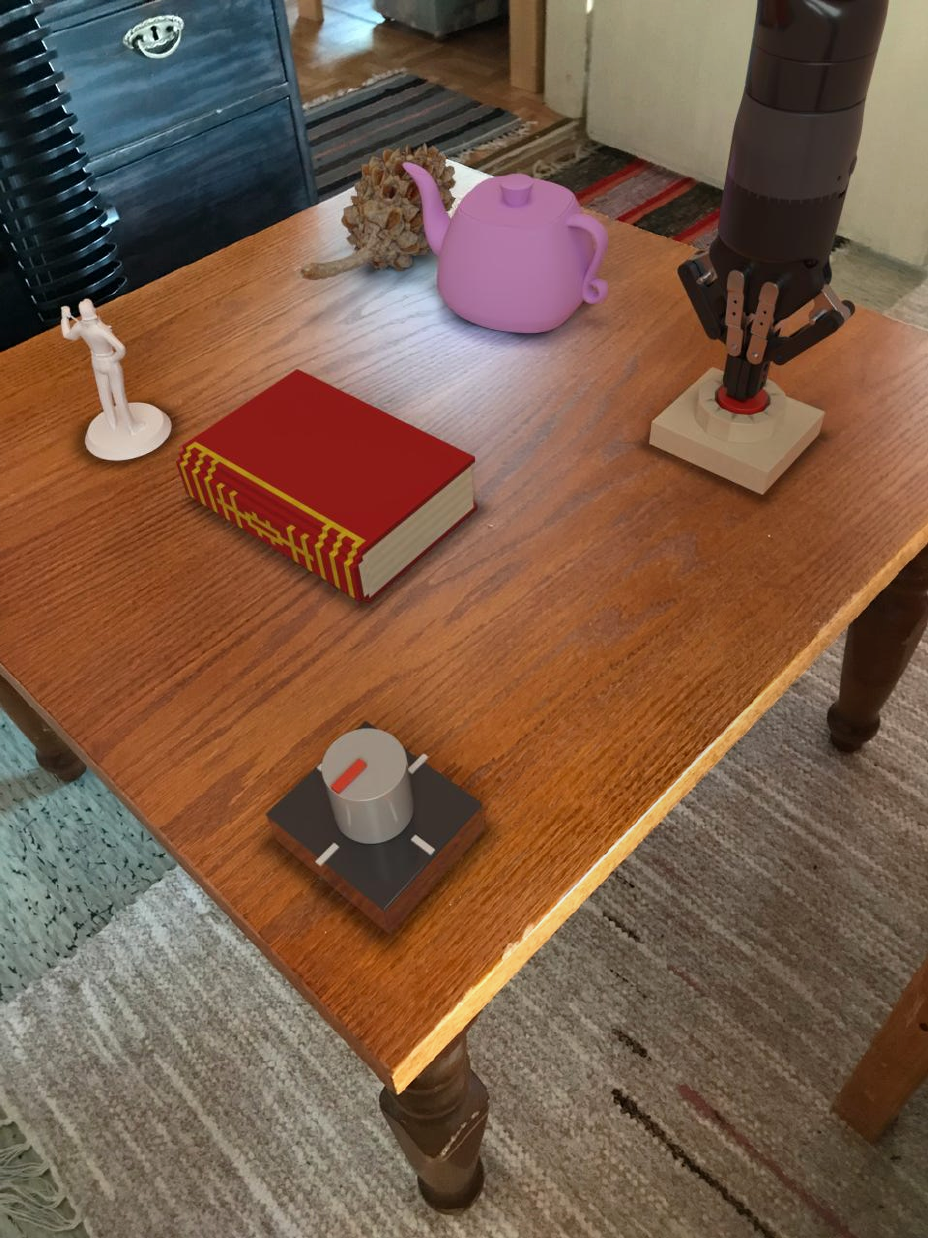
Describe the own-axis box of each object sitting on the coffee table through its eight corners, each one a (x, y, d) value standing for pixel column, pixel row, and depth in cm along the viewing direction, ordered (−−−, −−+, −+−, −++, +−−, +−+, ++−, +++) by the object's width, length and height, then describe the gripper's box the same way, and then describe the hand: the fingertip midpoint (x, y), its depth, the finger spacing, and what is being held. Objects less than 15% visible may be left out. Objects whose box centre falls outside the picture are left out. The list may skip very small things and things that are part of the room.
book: (189, 502, 76) (172, 451, 72) (307, 419, 82) (297, 368, 78) (361, 610, 67) (351, 559, 64) (477, 508, 74) (475, 456, 70)
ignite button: (771, 410, 76) (776, 391, 75) (748, 434, 74) (752, 415, 73) (730, 393, 77) (733, 375, 76) (706, 416, 76) (709, 397, 74)
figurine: (188, 417, 83) (147, 287, 74) (136, 468, 78) (86, 338, 69) (120, 398, 85) (72, 270, 76) (66, 447, 81) (8, 318, 72)
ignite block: (819, 434, 78) (831, 392, 75) (762, 495, 73) (772, 453, 70) (708, 388, 82) (715, 347, 79) (648, 443, 78) (653, 402, 75)
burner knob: (371, 760, 56) (361, 710, 52) (430, 801, 54) (423, 753, 50) (317, 814, 54) (302, 766, 50) (376, 859, 52) (365, 813, 48)
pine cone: (397, 213, 104) (388, 116, 97) (478, 231, 101) (474, 131, 94) (278, 319, 92) (256, 216, 84) (365, 343, 89) (351, 238, 81)
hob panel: (488, 826, 56) (487, 798, 54) (386, 940, 52) (379, 914, 50) (374, 744, 60) (368, 714, 58) (271, 843, 56) (260, 816, 54)
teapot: (631, 288, 93) (643, 163, 84) (577, 364, 85) (584, 235, 76) (443, 247, 99) (436, 127, 90) (378, 315, 92) (362, 190, 83)
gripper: (665, 160, 63) (640, 387, 76) (862, 219, 57) (797, 454, 70) (726, 119, 66) (692, 342, 79) (917, 170, 60) (845, 402, 73)
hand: (741, 394), depth 74 cm, fingers closed
